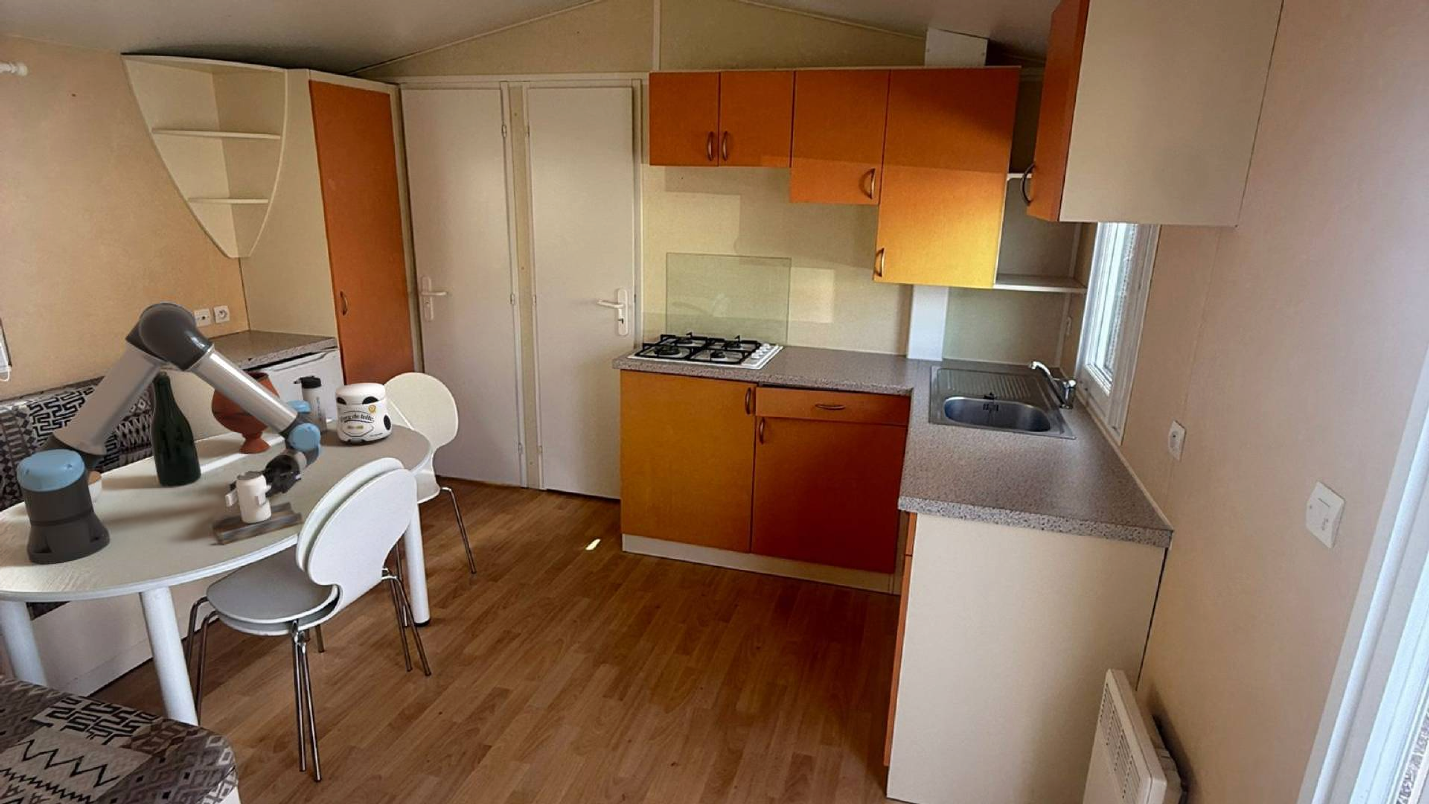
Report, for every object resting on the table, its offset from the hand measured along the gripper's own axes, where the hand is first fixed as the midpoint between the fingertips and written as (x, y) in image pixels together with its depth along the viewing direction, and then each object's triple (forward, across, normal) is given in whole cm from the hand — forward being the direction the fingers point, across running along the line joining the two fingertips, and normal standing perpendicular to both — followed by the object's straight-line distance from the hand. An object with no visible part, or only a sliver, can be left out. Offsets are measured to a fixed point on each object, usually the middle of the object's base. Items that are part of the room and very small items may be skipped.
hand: (242, 500), depth 186 cm
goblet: (-63, +29, -10) cm, 70 cm away
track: (-5, 0, -10) cm, 11 cm away
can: (-5, 0, -7) cm, 9 cm away
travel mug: (-81, +16, -10) cm, 83 cm away
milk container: (-73, -3, -10) cm, 74 cm away
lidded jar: (-21, +54, -10) cm, 58 cm away
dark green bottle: (-37, +37, -10) cm, 53 cm away
